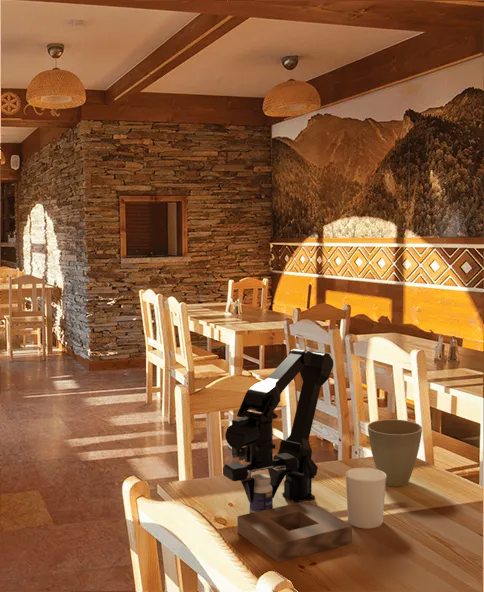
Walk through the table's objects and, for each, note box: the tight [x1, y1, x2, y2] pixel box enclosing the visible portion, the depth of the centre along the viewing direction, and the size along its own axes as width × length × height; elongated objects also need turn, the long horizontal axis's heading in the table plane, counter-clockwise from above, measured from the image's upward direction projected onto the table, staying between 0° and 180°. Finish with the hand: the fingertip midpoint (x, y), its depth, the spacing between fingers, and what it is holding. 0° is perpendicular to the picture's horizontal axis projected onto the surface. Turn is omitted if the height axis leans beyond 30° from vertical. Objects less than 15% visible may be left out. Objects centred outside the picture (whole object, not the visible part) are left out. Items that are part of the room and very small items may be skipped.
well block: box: [236, 500, 353, 563], centre depth 182 cm, size 20×18×4 cm
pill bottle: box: [249, 473, 274, 513], centre depth 194 cm, size 6×6×10 cm
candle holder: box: [345, 467, 387, 530], centre depth 190 cm, size 10×10×12 cm
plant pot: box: [367, 419, 423, 488], centre depth 217 cm, size 15×15×16 cm
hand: (261, 499), depth 195 cm, fingers closed on pill bottle, 6 cm apart
